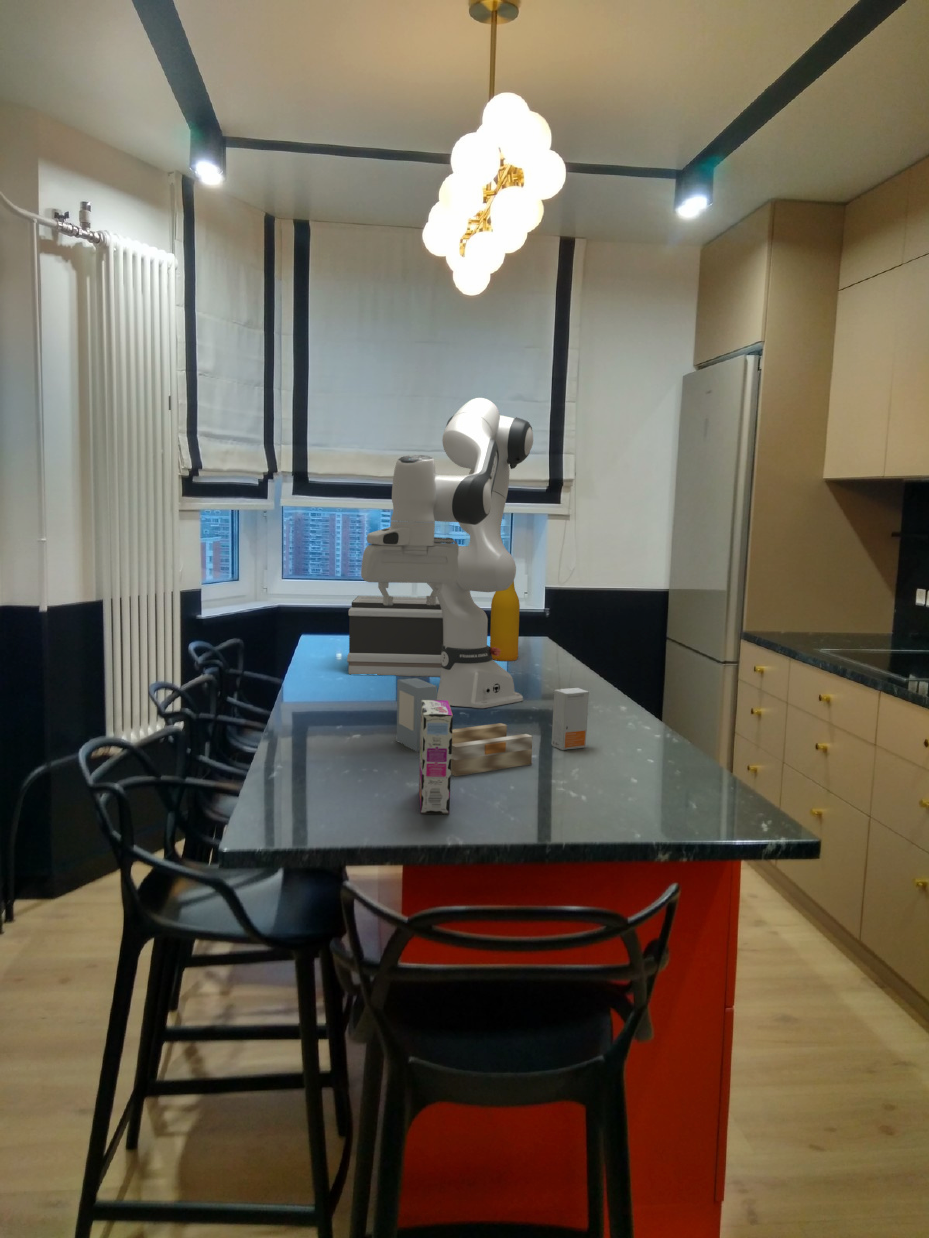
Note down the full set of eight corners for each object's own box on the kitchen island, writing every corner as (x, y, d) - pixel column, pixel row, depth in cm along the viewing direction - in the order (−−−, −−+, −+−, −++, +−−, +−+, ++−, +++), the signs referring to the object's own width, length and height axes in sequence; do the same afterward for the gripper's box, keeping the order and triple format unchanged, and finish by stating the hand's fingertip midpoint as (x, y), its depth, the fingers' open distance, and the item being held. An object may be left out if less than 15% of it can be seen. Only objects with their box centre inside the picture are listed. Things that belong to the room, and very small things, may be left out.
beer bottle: (487, 660, 274) (490, 569, 270) (491, 655, 283) (494, 567, 279) (516, 662, 272) (519, 570, 269) (519, 657, 282) (522, 568, 278)
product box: (415, 738, 182) (416, 677, 180) (435, 749, 174) (436, 686, 173) (395, 740, 180) (396, 679, 178) (415, 751, 172) (416, 688, 170)
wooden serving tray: (500, 749, 175) (501, 723, 174) (532, 764, 166) (533, 736, 165) (426, 760, 167) (427, 732, 166) (455, 776, 157) (456, 747, 156)
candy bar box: (451, 814, 138) (454, 714, 136) (420, 814, 138) (422, 714, 135) (447, 791, 149) (449, 698, 147) (418, 791, 149) (420, 698, 146)
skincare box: (562, 751, 175) (564, 693, 174) (551, 745, 179) (553, 689, 177) (587, 747, 178) (589, 691, 176) (575, 742, 182) (577, 687, 180)
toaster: (466, 678, 246) (468, 605, 243) (346, 675, 246) (347, 602, 243) (465, 666, 264) (467, 598, 261) (354, 663, 264) (354, 595, 261)
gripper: (452, 537, 180) (449, 603, 182) (359, 534, 171) (357, 603, 173) (465, 538, 174) (462, 606, 176) (370, 535, 165) (368, 606, 167)
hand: (409, 605), depth 174 cm, fingers open, 8 cm apart
